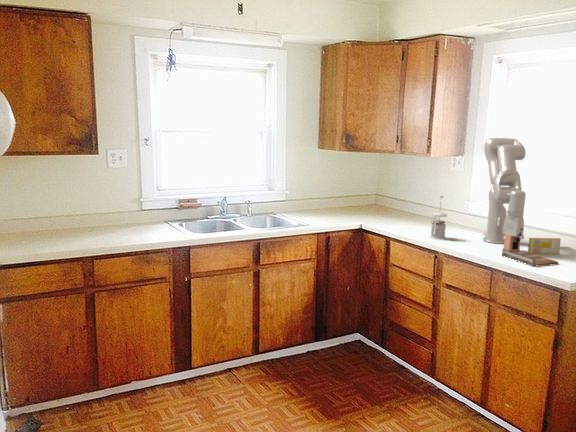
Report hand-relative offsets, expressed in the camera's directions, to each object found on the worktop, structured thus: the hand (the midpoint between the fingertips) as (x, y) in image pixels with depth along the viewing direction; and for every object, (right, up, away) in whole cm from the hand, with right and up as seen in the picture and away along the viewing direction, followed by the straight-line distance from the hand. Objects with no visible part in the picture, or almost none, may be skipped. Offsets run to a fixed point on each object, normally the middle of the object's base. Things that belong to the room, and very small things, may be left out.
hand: (511, 247), depth 267 cm
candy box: (+16, -3, -2) cm, 16 cm away
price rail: (-6, -4, -20) cm, 21 cm away
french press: (-32, +4, +28) cm, 42 cm away
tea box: (0, -2, 0) cm, 2 cm away
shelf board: (+1, -5, -17) cm, 18 cm away
